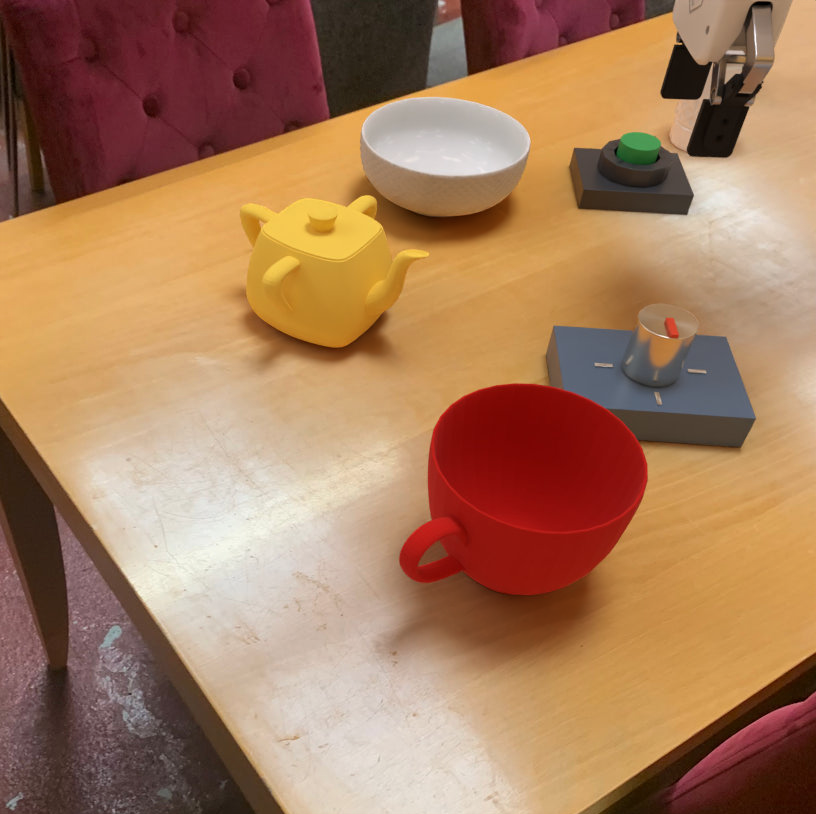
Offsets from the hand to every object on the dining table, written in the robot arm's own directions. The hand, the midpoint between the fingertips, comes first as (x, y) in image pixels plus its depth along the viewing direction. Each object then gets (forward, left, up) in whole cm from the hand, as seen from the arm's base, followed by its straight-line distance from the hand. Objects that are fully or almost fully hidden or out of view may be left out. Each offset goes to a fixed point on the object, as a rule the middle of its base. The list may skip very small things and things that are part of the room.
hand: (692, 125), depth 69 cm
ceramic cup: (+15, +33, -16) cm, 40 cm away
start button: (-2, -20, -12) cm, 24 cm away
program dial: (+2, +14, -13) cm, 19 cm away
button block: (-2, -20, -16) cm, 26 cm away
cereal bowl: (+18, -16, -16) cm, 29 cm away
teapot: (+28, +6, -16) cm, 33 cm away
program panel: (+2, +14, -16) cm, 21 cm away
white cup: (-12, -32, -16) cm, 38 cm away
